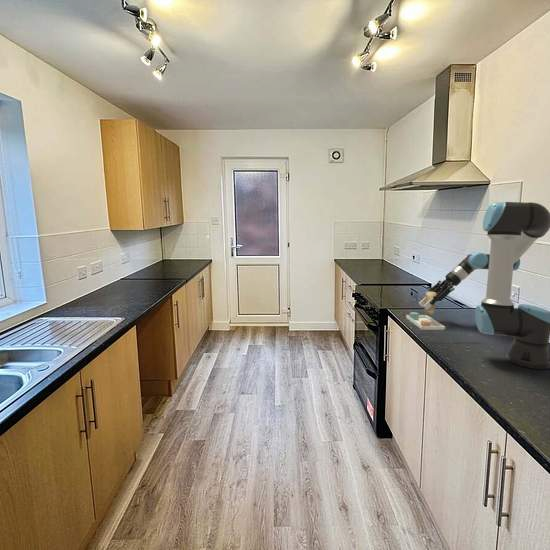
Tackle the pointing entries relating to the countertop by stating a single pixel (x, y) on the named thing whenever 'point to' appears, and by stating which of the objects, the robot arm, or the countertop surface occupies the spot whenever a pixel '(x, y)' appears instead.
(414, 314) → the teal block
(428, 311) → the turned wooden pepper mill
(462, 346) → the countertop surface
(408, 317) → the parts tray
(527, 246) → the robot arm
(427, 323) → the terracotta block
